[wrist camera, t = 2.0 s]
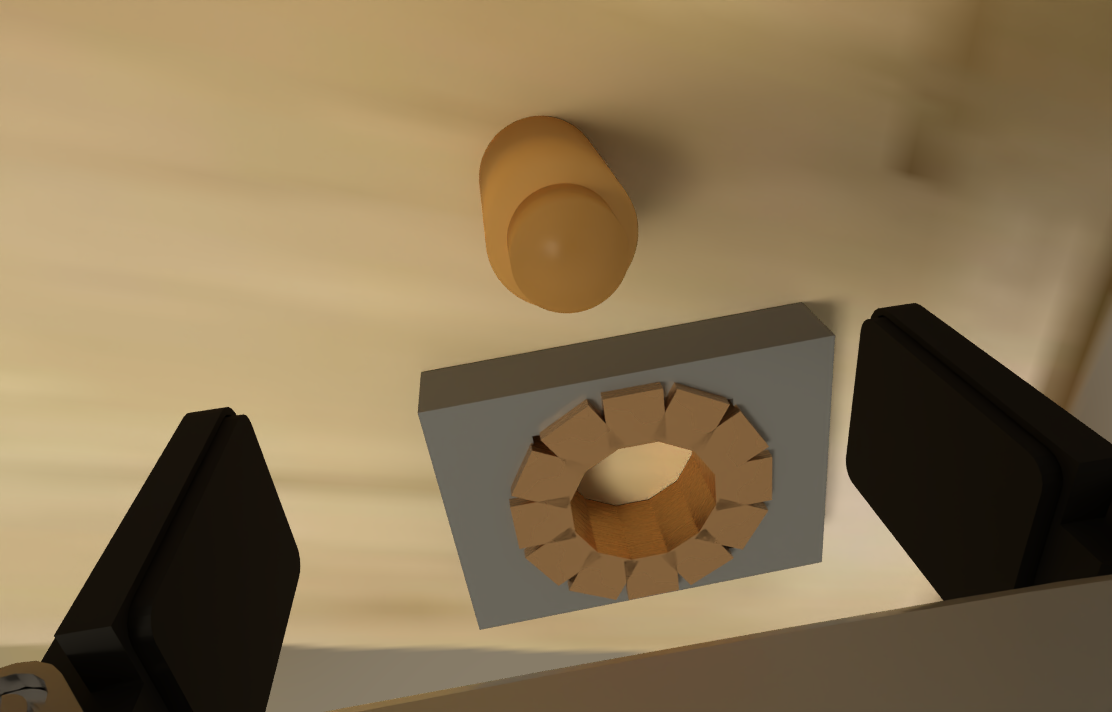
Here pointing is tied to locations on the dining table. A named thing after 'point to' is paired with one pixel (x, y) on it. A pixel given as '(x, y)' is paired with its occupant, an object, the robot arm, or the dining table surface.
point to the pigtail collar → (652, 525)
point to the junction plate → (583, 373)
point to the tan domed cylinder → (554, 216)
